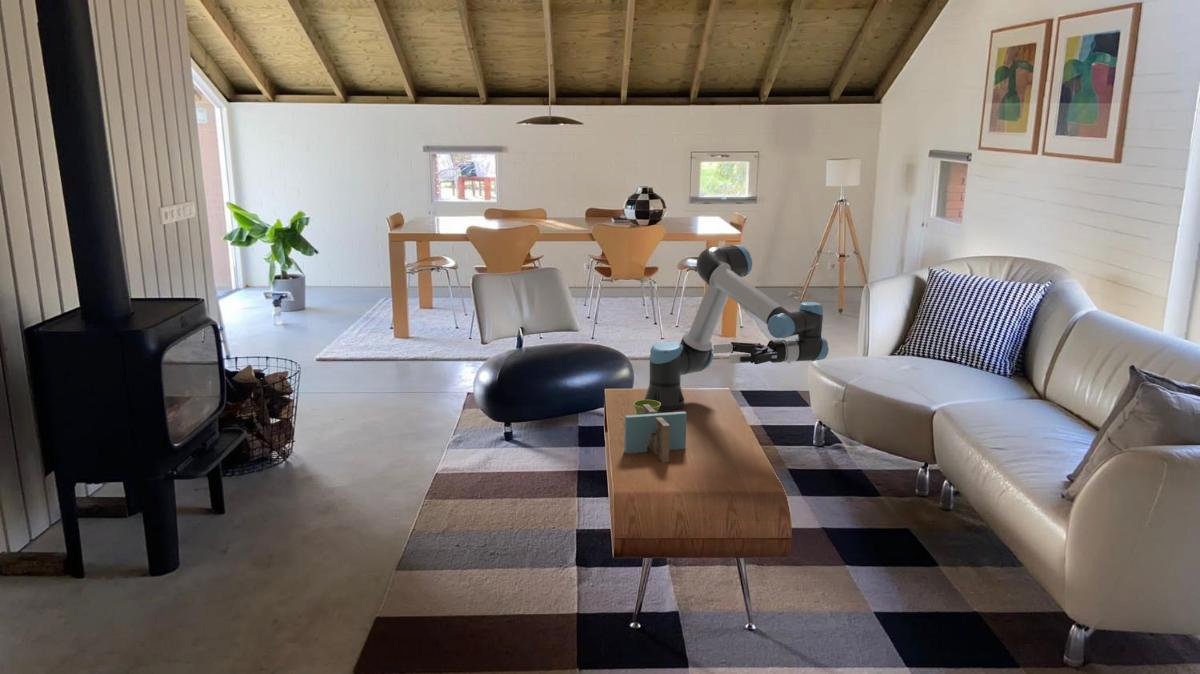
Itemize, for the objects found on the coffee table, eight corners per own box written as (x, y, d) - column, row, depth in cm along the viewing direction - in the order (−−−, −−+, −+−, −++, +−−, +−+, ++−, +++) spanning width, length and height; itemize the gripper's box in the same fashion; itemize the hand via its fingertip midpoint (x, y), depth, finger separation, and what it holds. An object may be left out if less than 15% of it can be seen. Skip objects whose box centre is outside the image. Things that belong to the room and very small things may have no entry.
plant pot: (640, 433, 286) (641, 408, 284) (628, 424, 294) (629, 401, 292) (665, 429, 290) (665, 405, 288) (652, 421, 298) (652, 398, 296)
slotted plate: (624, 451, 269) (624, 415, 266) (683, 446, 274) (684, 411, 271) (626, 453, 267) (626, 417, 264) (685, 448, 272) (686, 413, 269)
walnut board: (642, 438, 280) (642, 404, 278) (647, 438, 281) (648, 404, 278) (662, 462, 260) (663, 425, 257) (668, 462, 260) (669, 425, 257)
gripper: (798, 371, 266) (736, 375, 261) (765, 352, 289) (707, 355, 284) (800, 348, 264) (737, 351, 259) (766, 331, 288) (708, 334, 283)
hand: (721, 354), depth 272 cm, fingers open, 13 cm apart
